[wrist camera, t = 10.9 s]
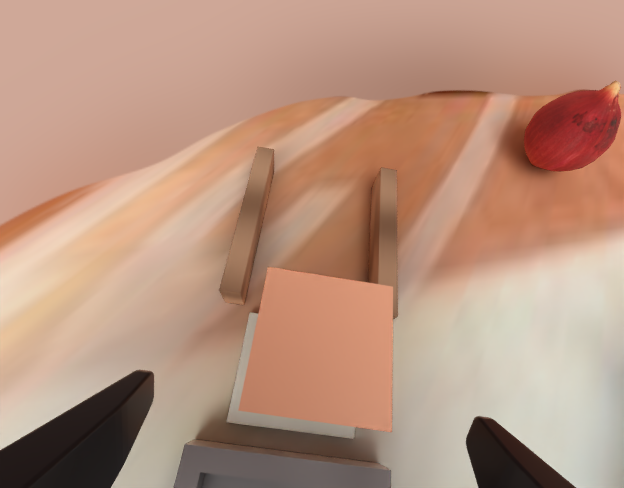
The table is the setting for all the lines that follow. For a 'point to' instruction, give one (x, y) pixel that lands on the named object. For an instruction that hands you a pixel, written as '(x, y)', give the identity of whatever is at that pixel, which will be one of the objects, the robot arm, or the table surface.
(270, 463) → the tray
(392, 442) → the table surface
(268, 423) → the pad
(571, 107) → the onion
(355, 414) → the block
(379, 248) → the channel
